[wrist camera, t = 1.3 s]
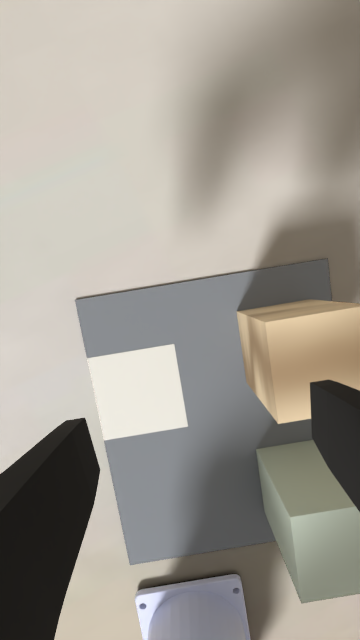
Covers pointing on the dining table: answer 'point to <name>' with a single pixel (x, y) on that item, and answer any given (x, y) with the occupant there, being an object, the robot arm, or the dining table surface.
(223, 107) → the dining table surface
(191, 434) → the slate mat
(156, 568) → the dining table surface
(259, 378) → the maple block
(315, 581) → the sage block
